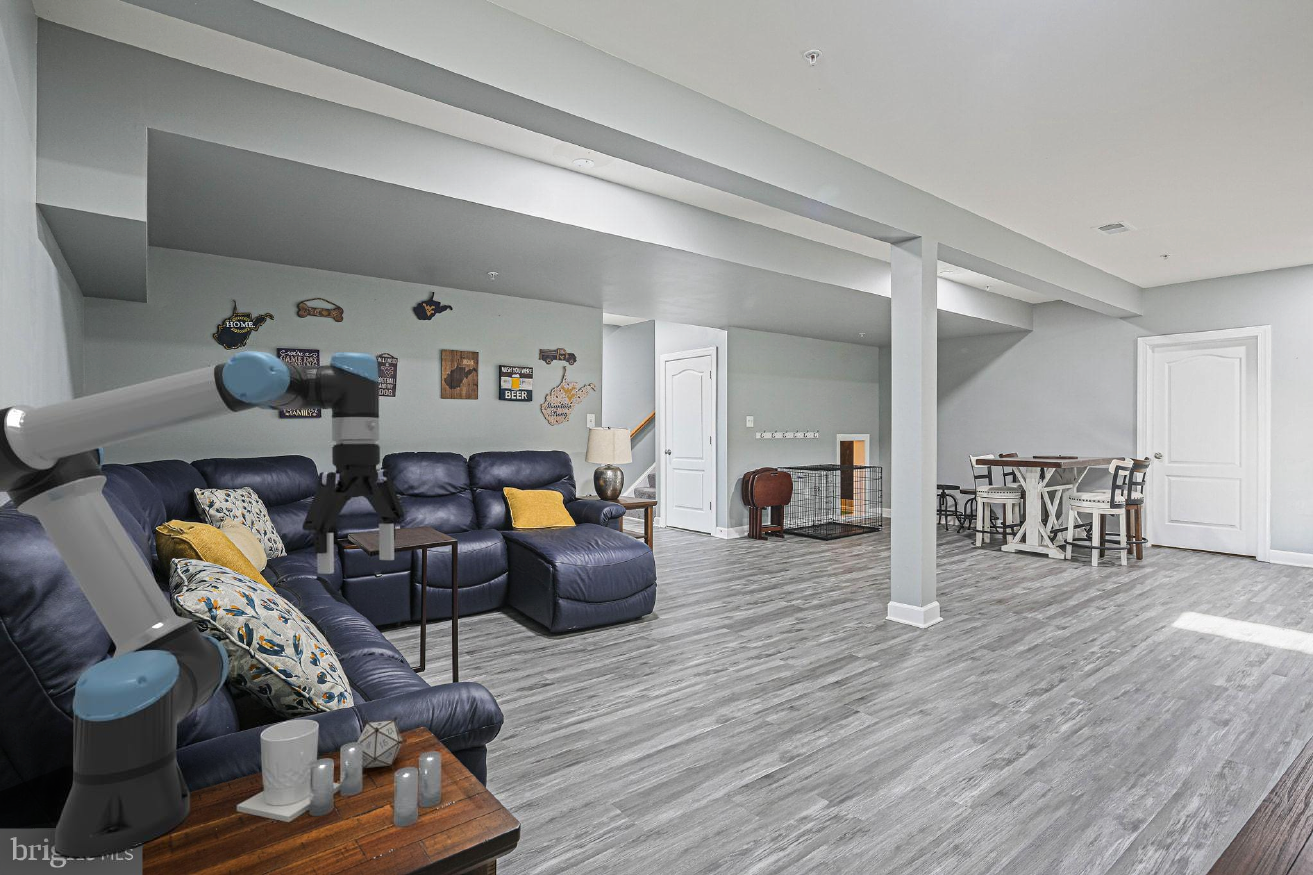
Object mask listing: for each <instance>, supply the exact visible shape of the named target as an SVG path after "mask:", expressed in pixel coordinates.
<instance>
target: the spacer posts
mask: <svg viewBox="0 0 1313 875" xmlns="http://www.w3.org/2000/svg"><path fill="white" fill-rule="evenodd" d="M339 755H340V760H339V761H340V762H339V763H340V765H339V766H340V768H339V769H340V770H339V771H340V772H339V773H340V774H339V778H340V779H339V784H340V790H339V794H340V796H342V797H353V796H355V795H358V794H359V793H361V792H362V791H363V772H362V768H363V765H362V763H363V744H362V743H360V742H357V741H353V742H347V743H346V744H343V745H342V746H341V747H340V754H339ZM334 767H335V765H334V759H333V758H328V757H327V758H326V757H325V758H320V759H317V760H316V761H314V762H312V763H311V764H310V803H309V810H308V811H309V815H310V816H312V817H322V816H325V815H328V814H330V813H331V812H333V810H334V794H333V784H334V783H335V782H334V781H335V780H334V770H335V769H334ZM393 775H394V777H393V778H394V783H393V784H394V788H393V789H394V791H393V792H394V800H393V801H394V804H393V807H394V808H393V811H394V812H393V814H394V815H393V816H394V818H393V823H394V825H395V826H396V827H399V828H403V827H404V828H405V827H410V826H412V825H414V824H415V823H417V821H418V819H419V818H418V817H419V815H418V814H419V812H418V811H419V808H418V806H419V807H421V808H433V807H435V806H437V805H438V806H439V804H440V803H441V802H442V753H441V752H440V751H437V750H431V751H426V752H423V753H421V754H420V755H418V768H417V767H415V766H406V767H402V768H399V769H397V770H396V771H395V772H394V774H393Z"/></svg>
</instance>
